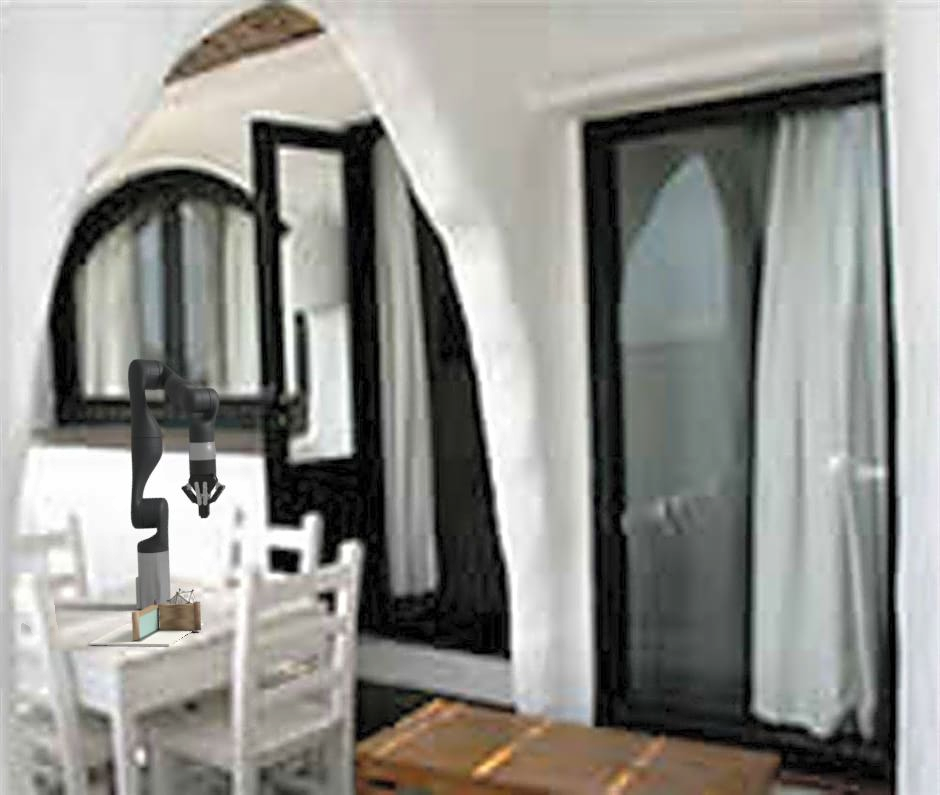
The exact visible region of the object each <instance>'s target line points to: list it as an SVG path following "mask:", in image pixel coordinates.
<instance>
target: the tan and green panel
mask: <svg viewBox="0 0 940 795" xmlns="http://www.w3.org/2000/svg"><path fill="white" fill-rule="evenodd" d="M157 608H158V605H151V606H149V607H147V608H145V609H143V610H142V609H140V610H139V611H132V612H131V623H132V630H133V640H139V639H140V638H142V637H144V636H146V635H148V634H149V633H151V632H153V631H155V630H157V629H158V621H157Z"/></svg>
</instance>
